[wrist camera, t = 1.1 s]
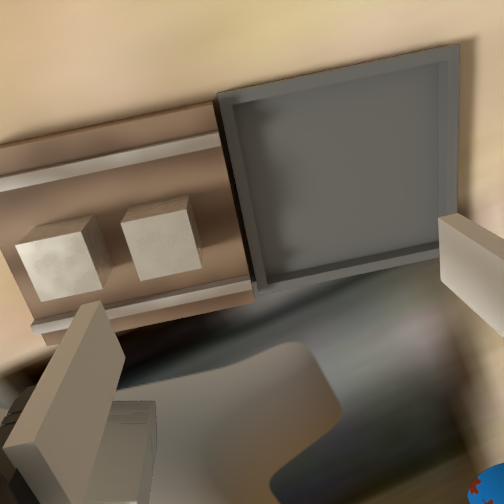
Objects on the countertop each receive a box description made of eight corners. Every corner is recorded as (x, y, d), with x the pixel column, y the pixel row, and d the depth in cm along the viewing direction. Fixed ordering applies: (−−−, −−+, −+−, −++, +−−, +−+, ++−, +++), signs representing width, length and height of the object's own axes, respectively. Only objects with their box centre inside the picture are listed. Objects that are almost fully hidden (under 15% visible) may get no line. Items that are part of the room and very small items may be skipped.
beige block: (129, 206, 35) (120, 223, 31) (188, 194, 35) (186, 209, 31) (147, 259, 37) (140, 281, 34) (202, 248, 37) (202, 268, 34)
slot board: (-18, 148, 36) (-52, 160, 31) (212, 100, 36) (212, 105, 32) (61, 322, 43) (43, 352, 39) (251, 282, 44) (256, 307, 39)
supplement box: (90, 399, 48) (51, 506, 36) (156, 399, 49) (140, 503, 37) (95, 447, 51) (61, 559, 39) (158, 446, 52) (142, 555, 40)
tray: (216, 93, 36) (217, 94, 34) (447, 45, 36) (459, 44, 34) (257, 285, 44) (259, 295, 42) (446, 245, 44) (456, 253, 42)
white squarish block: (35, 226, 35) (14, 245, 31) (94, 213, 35) (80, 231, 31) (57, 278, 37) (41, 302, 33) (113, 267, 37) (103, 289, 33)
